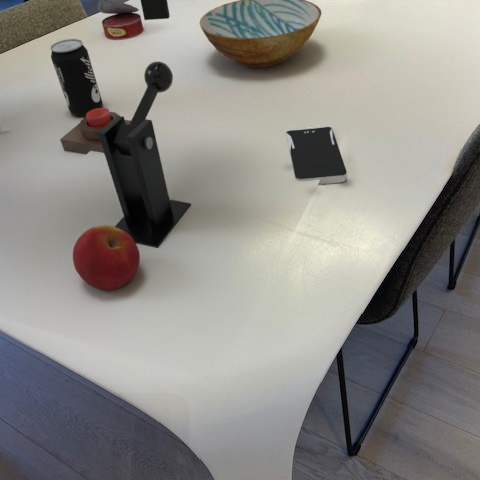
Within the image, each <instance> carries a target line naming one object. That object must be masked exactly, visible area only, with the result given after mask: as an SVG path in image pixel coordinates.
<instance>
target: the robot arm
mask: <svg viewBox="0 0 480 480" xmlns="http://www.w3.org/2000/svg"><path fill="white" fill-rule="evenodd" d="M140 4H141V10H142V14H143V19H144V21H151V20H166V19H167V20H169V19H170V17H171V15H170V9H169V3H168V0H140Z"/></svg>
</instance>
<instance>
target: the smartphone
mask: <svg viewBox="0 0 480 480" xmlns="http://www.w3.org/2000/svg"><path fill="white" fill-rule="evenodd" d="M285 136H286V142H287V146H288V151H289V156H290V161H291V165H292V170H293V175H294V179H295V181H297V182H307V181H317V180H319V181H318V184H317V185H318V186H319V185H328V184H338V183H340V184H341V183H344V182H346V180H347V173H348V171H347V168H346V164H345V163H344V159H343V157H342V154H341V150H340V147H339V145H338V141H337V138H336V136H335V132H334V129H333V127H332V126H331V125H317V126H310V127H308V126H307V127H299V128H290V129H287V130H286V131H285Z"/></svg>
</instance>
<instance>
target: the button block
mask: <svg viewBox="0 0 480 480" xmlns="http://www.w3.org/2000/svg"><path fill="white" fill-rule="evenodd" d="M109 112H110V115H111V119H112V120H113V119H114V118H115V117H116V116H121V115H120V114H118V113H117V112H115V111H109ZM130 122H131V119H129V120H128V119H125V123H126V124H130ZM105 126H106V125H105ZM105 126H103V127H96V128H95V127H90V126H89V124H88V121H87V118H86V117H83V118H82V119H81V120H80V122H79V123H78V124H77V125H75V126H74V127H73V128H72V129H71V130H70V131H68V132H67V133H66V134H65V135H63V136H62V137H61V138H60V139H59V141H60V143H61V146H62V148H63V150H64V152H69V153H76V154H81V155H88V154H89V153H90V152H96V153H97V152H98V153H103V154H104V151H103V148H102V144H101V141H100V138H99V135H98V132H99V131H100V130H102V129H103V128H104V127H105Z"/></svg>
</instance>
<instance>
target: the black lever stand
mask: <svg viewBox="0 0 480 480" xmlns="http://www.w3.org/2000/svg"><path fill="white" fill-rule="evenodd" d="M125 120H126V119H125V116H122V115H120V116H116V117H115V118H114V119H113V120H112V121H111V122H110V123H108V124H107V125H106V126H105V127H104V128H103V129H102V130H100V131H99V132H98V135H99V138H100V141H101V144H102V148H103V151H104V153H103V154H104V157H105V161H106V163H107V167H108V170H109V173H110V175H111V180H112V182H113V183H112V184H113V186H114V188H115V192H116V195H117V198H118V202H119V205H120V207H121V212H122V214H123V216H122V218H121V219H120V220H119V221H118V222H117V223H116V224H115V226H114V227H117V228H119V229H121V230H123V231H125V232H126V233H128V234H129V235H130V236H131V237H132V238H133V240H134V242H135V243H136V245H137V244H138V245H143V246H147V247H151V248H156V249H159V247H160V246H161V245H162V243H163V242H164V241H165V239H167V237H168V235H170V233H171V232H172V230H173V229H174V228H175V226H176V225H177V224H178V223H179V221H180V220H181V219H182V218H183V216H184V215H185V214H186V212H187V211H188V210H189V209H190V207H191V206H192V203H190V202H185V201H180V200H175V199H170V196H169V191H168V185H167V181H166V178H165V173H164V169H163V164H162V159H161V156H160V150H159V148H158V141H157V138H156V133H155V129H154V124H153V120H152V119H147V118H146V119H145V120H144V121H143V122H142V123H140V124H139V125H138V126H137V127H136V128H135V129H134V130H133V131H132V132H131V133H130V134H129V135H128V136H127V141H128V145H129V148H130V152H131V156H127V155H121V153H120V152H119V151H118V149H117V148H116V146H115V145H114V143H113V140H114V138H115V136H116V134H117V132H118V130H119V128H120V126H121V124H126V123H125Z"/></svg>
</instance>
